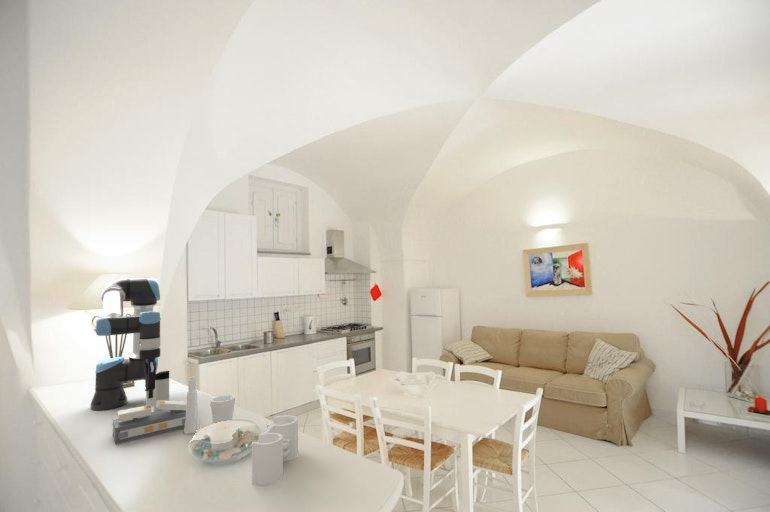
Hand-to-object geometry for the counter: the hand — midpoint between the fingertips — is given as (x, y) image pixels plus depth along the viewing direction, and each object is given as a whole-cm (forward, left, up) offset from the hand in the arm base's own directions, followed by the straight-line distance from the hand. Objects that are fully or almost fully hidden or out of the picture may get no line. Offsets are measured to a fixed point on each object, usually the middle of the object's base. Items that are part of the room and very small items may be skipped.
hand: (150, 405), depth 158 cm
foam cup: (+20, +23, -11) cm, 32 cm away
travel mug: (-20, +7, -11) cm, 24 cm away
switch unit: (0, +1, -11) cm, 11 cm away
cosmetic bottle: (+12, +13, -11) cm, 21 cm away
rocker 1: (0, -5, -3) cm, 6 cm away
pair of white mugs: (+64, +28, -11) cm, 70 cm away
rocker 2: (0, +8, -3) cm, 8 cm away
